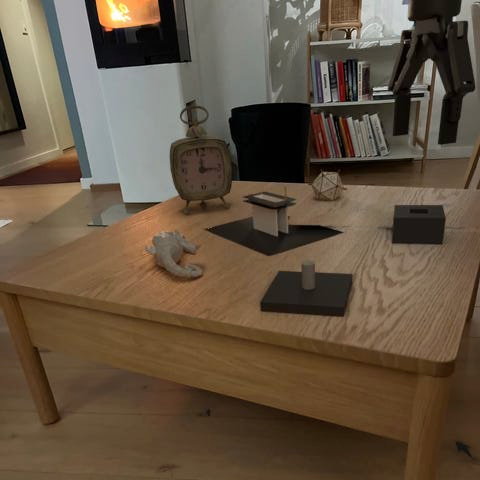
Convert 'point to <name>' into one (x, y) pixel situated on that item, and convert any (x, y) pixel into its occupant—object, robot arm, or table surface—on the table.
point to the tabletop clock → (200, 165)
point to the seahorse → (173, 253)
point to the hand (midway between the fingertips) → (421, 139)
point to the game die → (327, 185)
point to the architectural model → (271, 226)
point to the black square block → (418, 224)
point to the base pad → (308, 292)
